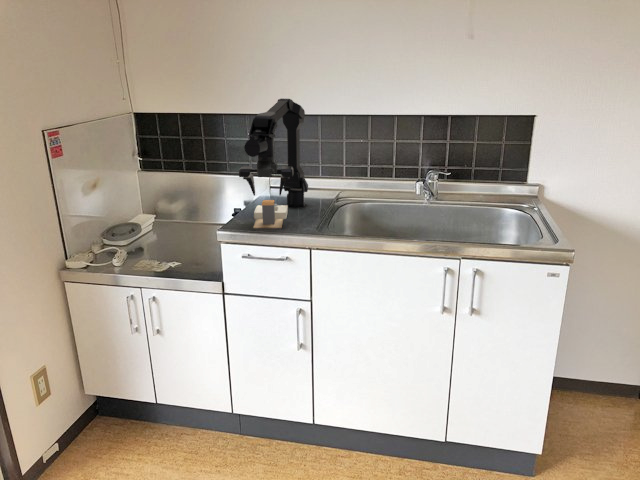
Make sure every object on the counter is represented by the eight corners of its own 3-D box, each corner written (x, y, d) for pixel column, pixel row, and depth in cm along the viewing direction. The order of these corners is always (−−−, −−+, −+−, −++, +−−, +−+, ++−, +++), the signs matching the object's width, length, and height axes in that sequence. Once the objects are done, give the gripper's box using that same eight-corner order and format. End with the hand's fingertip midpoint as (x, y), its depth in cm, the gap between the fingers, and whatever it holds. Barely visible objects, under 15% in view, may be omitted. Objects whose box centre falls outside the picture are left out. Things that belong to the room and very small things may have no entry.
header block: (287, 211, 211) (287, 203, 210) (286, 218, 202) (286, 210, 200) (257, 211, 211) (256, 203, 210) (254, 219, 202) (253, 210, 201)
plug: (275, 221, 198) (274, 200, 195) (274, 224, 194) (273, 203, 191) (264, 221, 198) (263, 200, 195) (262, 224, 194) (261, 203, 191)
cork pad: (283, 219, 201) (283, 218, 201) (281, 228, 191) (281, 227, 191) (256, 219, 201) (256, 218, 201) (253, 228, 191) (253, 227, 191)
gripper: (235, 156, 179) (237, 201, 185) (291, 155, 179) (292, 201, 185) (240, 150, 190) (242, 193, 195) (292, 150, 190) (293, 193, 195)
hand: (267, 195), depth 192 cm, fingers open, 9 cm apart
